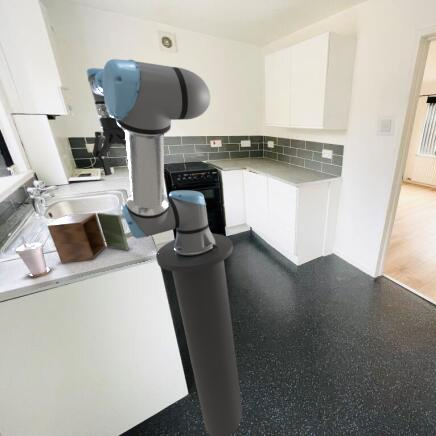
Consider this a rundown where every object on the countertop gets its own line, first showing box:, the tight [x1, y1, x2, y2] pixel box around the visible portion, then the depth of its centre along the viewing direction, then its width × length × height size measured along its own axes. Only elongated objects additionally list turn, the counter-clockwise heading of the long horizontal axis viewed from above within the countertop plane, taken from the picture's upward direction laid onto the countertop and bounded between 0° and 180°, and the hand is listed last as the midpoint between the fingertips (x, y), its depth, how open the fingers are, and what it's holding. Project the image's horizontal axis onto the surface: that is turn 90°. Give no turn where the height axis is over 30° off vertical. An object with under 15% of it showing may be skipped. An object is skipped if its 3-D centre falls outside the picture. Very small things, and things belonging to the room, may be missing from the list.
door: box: [96, 212, 134, 251], centre depth 101 cm, size 8×11×15 cm
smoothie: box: [14, 234, 48, 275], centre depth 81 cm, size 6×6×14 cm
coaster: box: [29, 267, 51, 278], centre depth 83 cm, size 5×5×1 cm
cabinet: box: [46, 212, 107, 264], centre depth 93 cm, size 10×11×15 cm
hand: (125, 174), depth 98 cm, fingers open, 13 cm apart
